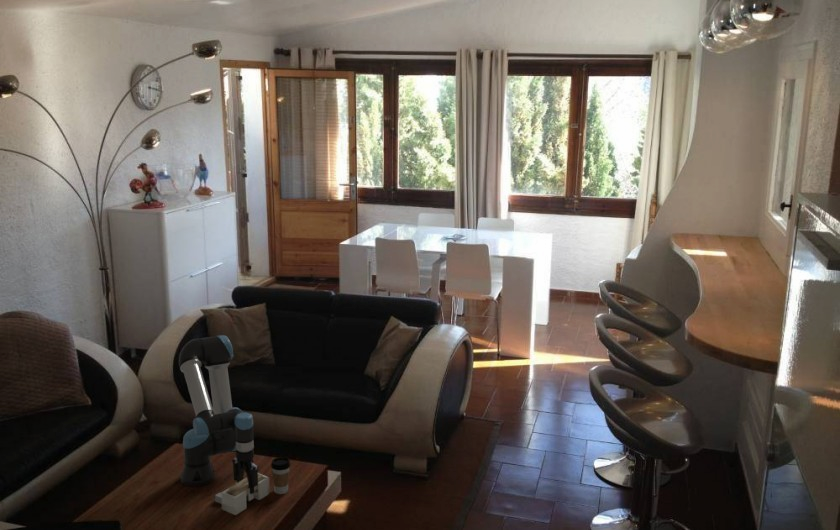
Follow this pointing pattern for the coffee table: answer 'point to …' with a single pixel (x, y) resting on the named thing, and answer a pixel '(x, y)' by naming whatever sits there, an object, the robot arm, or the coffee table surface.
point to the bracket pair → (244, 497)
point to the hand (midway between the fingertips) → (246, 497)
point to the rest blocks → (219, 498)
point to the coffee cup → (280, 474)
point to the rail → (242, 486)
